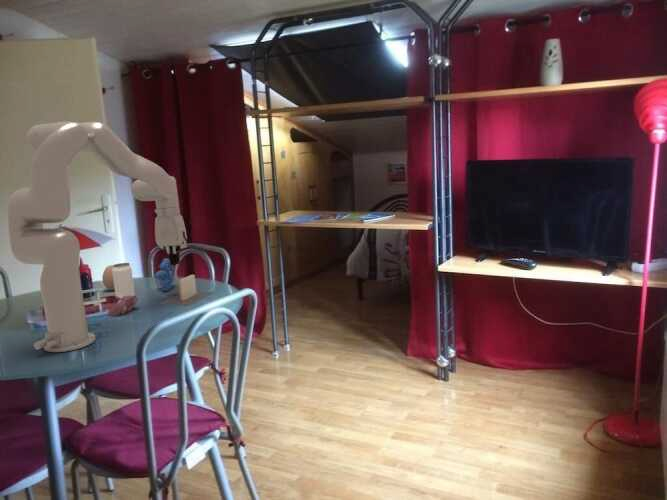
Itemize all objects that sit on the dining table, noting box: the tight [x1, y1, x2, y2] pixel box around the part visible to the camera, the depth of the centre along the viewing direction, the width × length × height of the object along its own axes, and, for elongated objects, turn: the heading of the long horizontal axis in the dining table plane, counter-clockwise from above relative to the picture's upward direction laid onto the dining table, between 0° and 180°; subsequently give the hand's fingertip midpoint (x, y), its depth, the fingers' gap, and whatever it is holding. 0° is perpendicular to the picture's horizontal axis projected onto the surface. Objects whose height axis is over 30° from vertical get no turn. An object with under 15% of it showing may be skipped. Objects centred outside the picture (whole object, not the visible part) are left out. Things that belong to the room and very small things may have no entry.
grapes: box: [154, 257, 175, 292], centre depth 192 cm, size 12×7×12 cm, turn 1°
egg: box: [102, 264, 115, 291], centre depth 198 cm, size 7×7×10 cm
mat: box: [158, 290, 215, 306], centre depth 179 cm, size 16×12×1 cm
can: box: [112, 262, 136, 298], centre depth 186 cm, size 6×6×12 cm
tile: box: [177, 274, 197, 301], centre depth 179 cm, size 8×1×7 cm, turn 162°
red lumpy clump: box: [107, 295, 139, 317], centre depth 166 cm, size 10×5×7 cm, turn 169°
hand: (175, 264), depth 182 cm, fingers closed
